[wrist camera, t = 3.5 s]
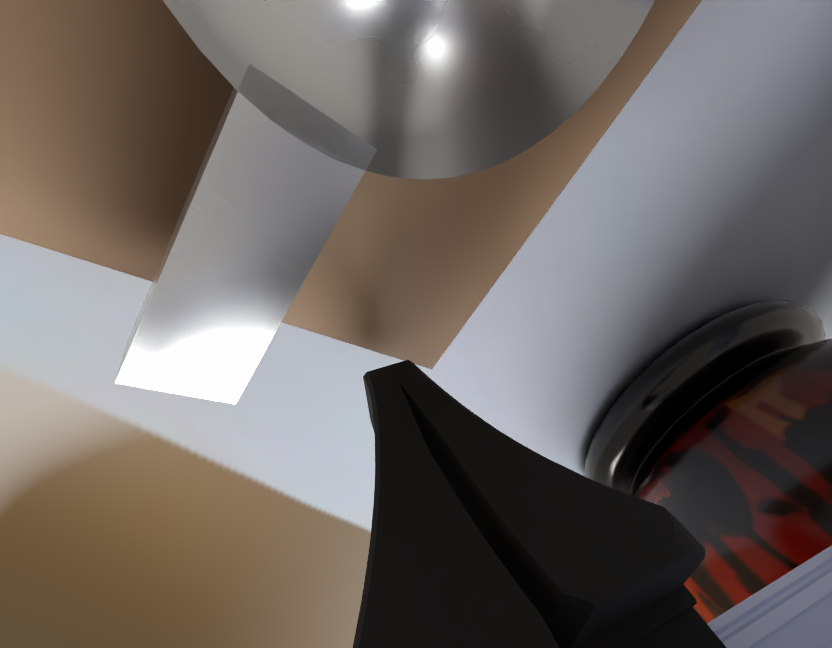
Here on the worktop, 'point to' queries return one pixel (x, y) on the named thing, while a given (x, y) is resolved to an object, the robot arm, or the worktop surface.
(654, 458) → the amphora vase
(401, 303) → the base board
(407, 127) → the silver disc with handle
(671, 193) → the worktop surface
